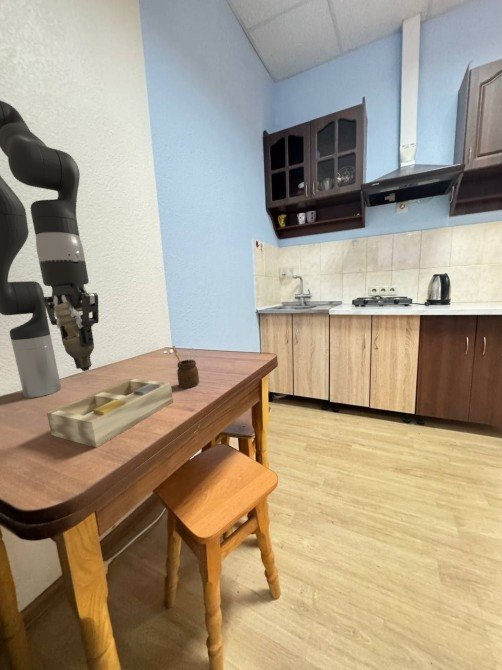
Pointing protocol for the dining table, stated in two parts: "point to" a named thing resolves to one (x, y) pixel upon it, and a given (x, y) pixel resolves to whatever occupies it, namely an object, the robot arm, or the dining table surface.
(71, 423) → the socket block
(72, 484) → the dining table surface
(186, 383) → the utensil holder
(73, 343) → the light bulb
